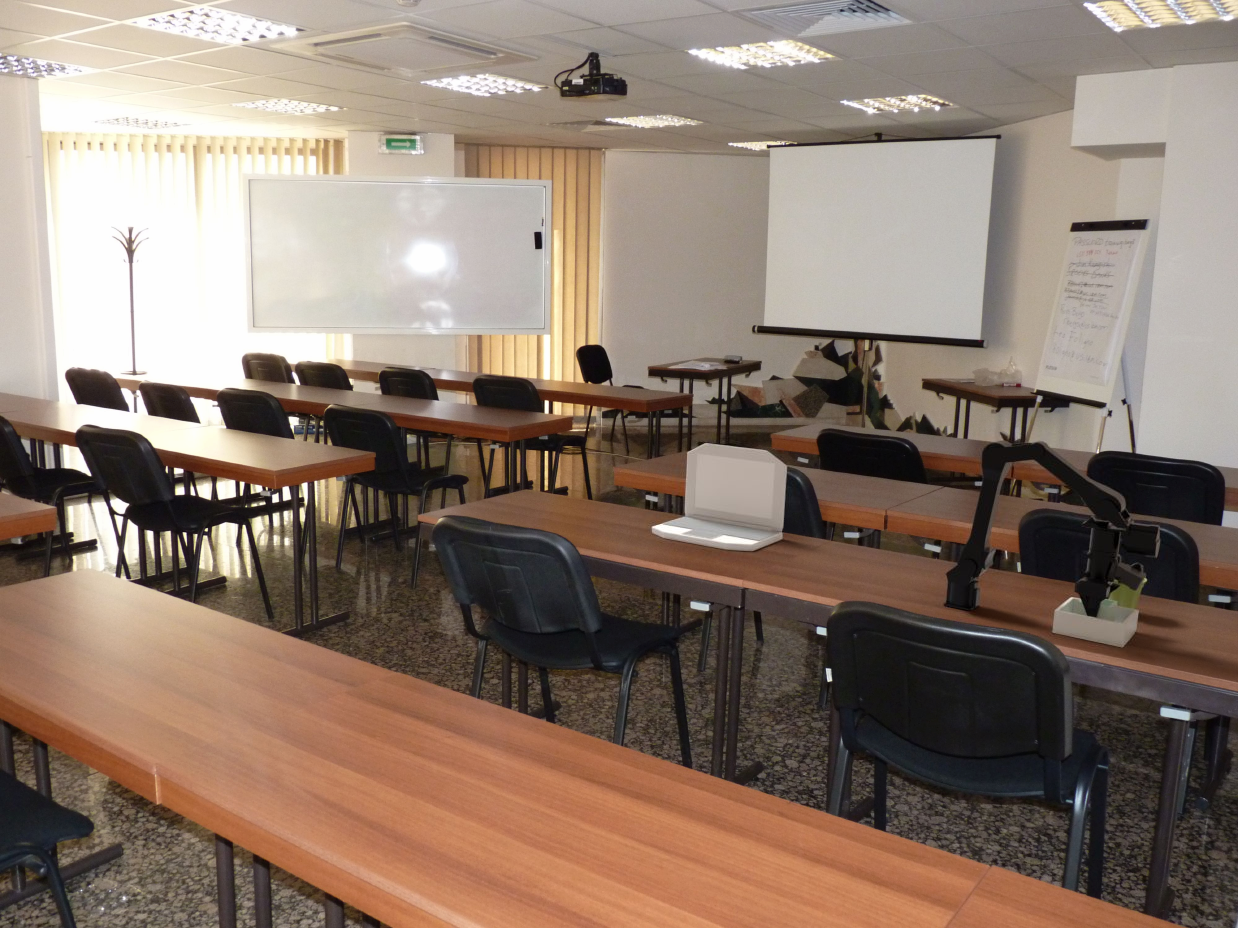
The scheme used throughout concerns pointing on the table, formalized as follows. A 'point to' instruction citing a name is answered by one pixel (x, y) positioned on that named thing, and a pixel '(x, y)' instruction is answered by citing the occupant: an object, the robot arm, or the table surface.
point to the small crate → (1102, 609)
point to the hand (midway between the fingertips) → (1095, 618)
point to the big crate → (1095, 624)
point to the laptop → (730, 499)
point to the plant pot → (1126, 595)
